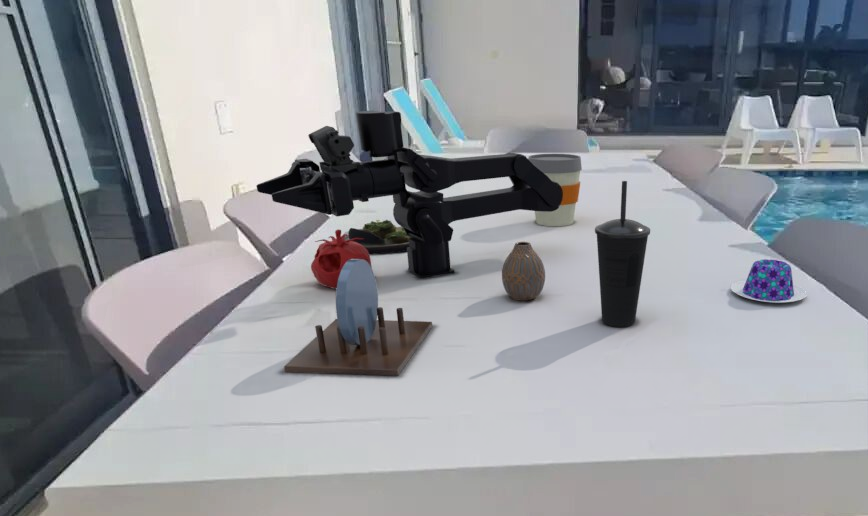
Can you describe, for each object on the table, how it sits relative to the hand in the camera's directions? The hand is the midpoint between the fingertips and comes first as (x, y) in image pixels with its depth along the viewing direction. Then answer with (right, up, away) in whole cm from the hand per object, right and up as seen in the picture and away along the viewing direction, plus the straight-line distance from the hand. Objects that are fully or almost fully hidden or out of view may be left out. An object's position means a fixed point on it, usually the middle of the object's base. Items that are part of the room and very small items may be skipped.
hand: (264, 193), depth 95 cm
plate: (+18, -22, -11) cm, 31 cm away
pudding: (+78, -14, +10) cm, 80 cm away
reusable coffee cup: (+42, +8, +58) cm, 72 cm away
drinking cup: (+53, -19, -1) cm, 56 cm away
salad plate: (+6, -1, +38) cm, 39 cm away
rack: (+18, -23, -10) cm, 31 cm away
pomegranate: (+7, -12, +15) cm, 20 cm away
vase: (+38, -15, +9) cm, 42 cm away
